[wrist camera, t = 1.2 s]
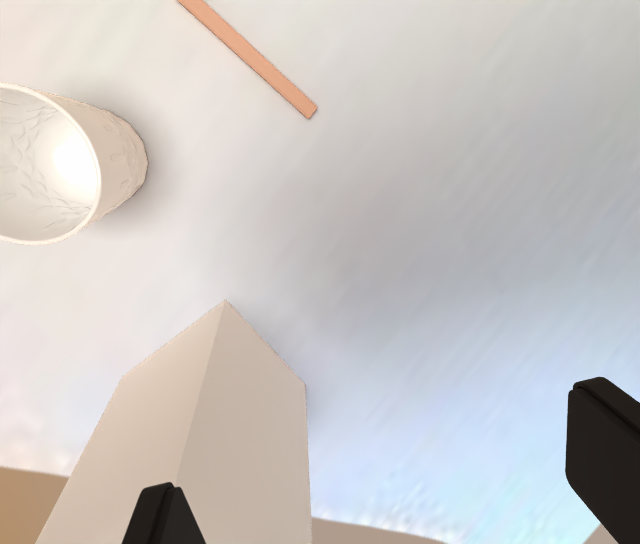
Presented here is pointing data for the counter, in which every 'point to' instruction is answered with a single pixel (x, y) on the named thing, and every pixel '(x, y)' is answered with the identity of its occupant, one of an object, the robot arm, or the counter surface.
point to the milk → (198, 442)
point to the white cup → (61, 165)
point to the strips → (249, 55)
